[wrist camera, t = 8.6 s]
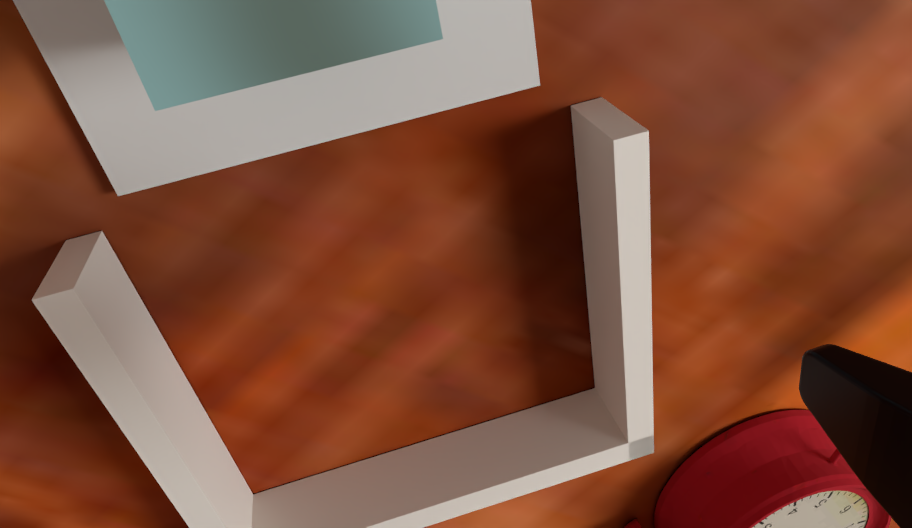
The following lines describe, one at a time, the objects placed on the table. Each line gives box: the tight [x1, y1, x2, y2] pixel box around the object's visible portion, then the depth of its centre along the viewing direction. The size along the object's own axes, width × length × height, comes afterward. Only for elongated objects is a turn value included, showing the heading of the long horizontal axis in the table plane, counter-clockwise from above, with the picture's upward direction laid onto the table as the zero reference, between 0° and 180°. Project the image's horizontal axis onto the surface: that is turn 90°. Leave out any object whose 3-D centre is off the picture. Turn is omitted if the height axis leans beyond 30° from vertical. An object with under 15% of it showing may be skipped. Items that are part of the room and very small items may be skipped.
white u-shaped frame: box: [32, 97, 654, 528], centre depth 21 cm, size 16×13×3 cm
